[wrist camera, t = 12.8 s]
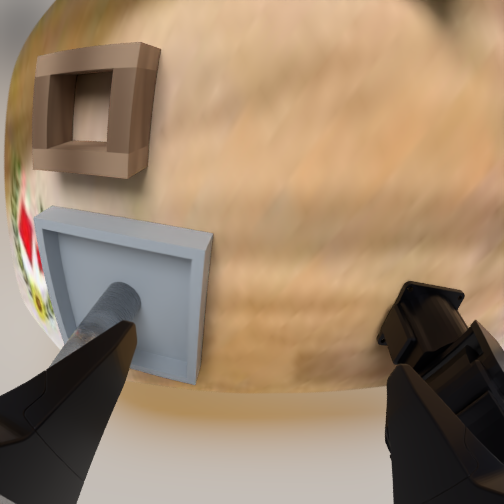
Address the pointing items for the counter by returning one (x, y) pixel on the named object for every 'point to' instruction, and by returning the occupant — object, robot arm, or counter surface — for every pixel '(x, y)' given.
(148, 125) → the collar block
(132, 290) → the steel pin
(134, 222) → the tray
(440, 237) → the counter surface
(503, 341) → the counter surface
